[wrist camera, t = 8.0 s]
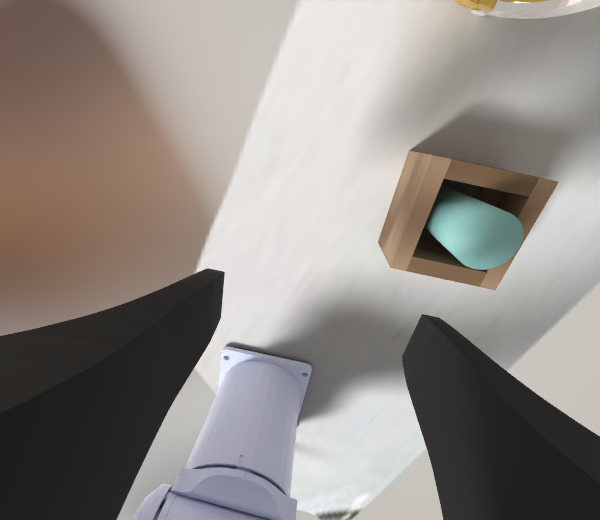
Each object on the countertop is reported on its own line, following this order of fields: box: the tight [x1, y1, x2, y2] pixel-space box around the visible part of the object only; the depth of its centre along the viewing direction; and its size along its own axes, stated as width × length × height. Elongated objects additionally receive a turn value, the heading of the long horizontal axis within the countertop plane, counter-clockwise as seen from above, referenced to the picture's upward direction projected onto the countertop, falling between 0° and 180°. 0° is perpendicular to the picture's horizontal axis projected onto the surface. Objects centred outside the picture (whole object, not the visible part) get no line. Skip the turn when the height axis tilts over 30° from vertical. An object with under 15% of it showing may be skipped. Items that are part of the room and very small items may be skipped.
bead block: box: [378, 151, 558, 290], centre depth 16 cm, size 6×6×4 cm
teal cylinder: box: [424, 187, 523, 270], centre depth 15 cm, size 3×3×6 cm
